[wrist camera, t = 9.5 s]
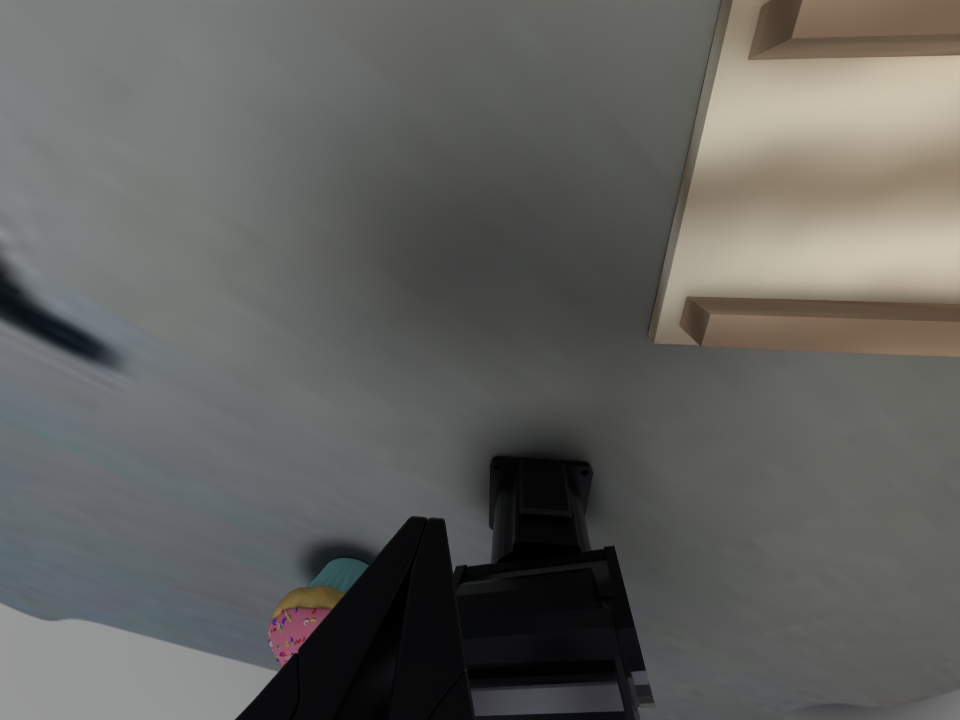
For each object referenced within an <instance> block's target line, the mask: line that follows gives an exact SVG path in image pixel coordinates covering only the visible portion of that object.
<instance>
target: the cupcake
mask: <svg viewBox="0 0 960 720" xmlns="http://www.w3.org/2000/svg"><path fill="white" fill-rule="evenodd" d="M368 566H369V565H368V564H366V563H364V562H362V561H359V560H356V559H352V558H338V559H335V560H332V561H331V562H329V563H328V564H327V565H326V566H325V568H324V569H323V570H322V571H321V572H320V573H319V574H318V576H317V577H316V578H315V579H314V580H313V581H312V582H311V583H310V584H309V585H308V586H307V587H306V588H297V589H295V590H293V591H291V592H290V593H288V594H287V595H286V596H285V597H284V598H283V599H282V600H281V602H280V603H279V605H278V606H277V608H276V610H275V612H274V614H273V617H272V620H271V622H270V624H269V628H268V637H269V641H268V643H269V645H270V646H272V648H271V650H272V651H274V654H275V656H276V658H277V661H278V662H280V663H281V664H282V665H283V666H284V665H285V664H286V663H287V661H288V660H289V659H290V658H291V657H292V655H293V654H294V653H298V649H299V647H300V646H301V645H302V644H303V643H304V642H305V640H306V639H307V638H308V637H309V636H310V634H311V633H312V632H313V631H314V630H315V629H316V627H317V626H318V625H319V624H320V623H321V621H322V620H323V619H324V618H325V617H326V616H327V614H328V613H329V612H330V611H331V610H332V608H333V607H334V606H335V605H336V604H337V603H338V601H339V600H340V599H341V598H342V597H343V596H344V594H345V593H346V592H347V591H348V590H349V588H350V587H351V586H352V585H353V584H354V583H355V581H356V580H357V579H358V578H359V577H360V575H361V574H362V573H363V572H364V571H365V570H366V568H367V567H368Z"/></svg>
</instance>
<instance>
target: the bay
mask: <svg viewBox="0 0 960 720" xmlns="http://www.w3.org/2000/svg"><path fill="white" fill-rule="evenodd" d="M648 337H649V338H650V339H651V340H652V342H653V343H654V344H679V345H700V346H701V347H718V348H744V349H770V350H796V351H822V352H848V353H874V354H900V355H926V356H952V357H960V0H722V2H721V6H720V11H719V15H718V20H717V24H716V29H715V33H714V38H713V43H712V47H711V52H710V56H709V61H708V65H707V70H706V74H705V79H704V83H703V88H702V93H701V97H700V102H699V106H698V111H697V115H696V120H695V124H694V129H693V133H692V138H691V143H690V147H689V152H688V156H687V161H686V165H685V170H684V174H683V179H682V183H681V188H680V193H679V197H678V202H677V206H676V211H675V215H674V220H673V224H672V229H671V233H670V238H669V243H668V247H667V252H666V256H665V261H664V265H663V270H662V274H661V279H660V283H659V288H658V293H657V297H656V302H655V306H654V311H653V315H652V320H651V324H650V329H649V333H648Z"/></svg>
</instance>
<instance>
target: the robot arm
mask: <svg viewBox="0 0 960 720" xmlns="http://www.w3.org/2000/svg"><path fill="white" fill-rule="evenodd" d="M496 464H500V466H498V465H496ZM582 470H586V471H582ZM592 474H593V471H592V467H591V465H590V464H589V463H586V462H572V461H557V460H541V459H526V458H510V457H494V458H493V459H492V460H491V465H490V511H489V526H490V528H491V529H492V530H493V541H492V555H491V564H483V565H475V566H467V565H461V566H456V569H455V571H454V574H453V571H452V564H451V558H450V551H449V545H448V538H447V531H446V525H445V520H444V519H442V518H428V519H427V518H426V517H418V516H412V517H410V518H409V519H408V520H407V521H406V522H405V524H404V525H403V526H402V527H401V528H400V529H399V531H398V532H397V533H396V534H395V535H394V537H393V538H392V539H391V540H390V541H389V542H388V544H387V545H386V546H385V547H384V548H383V549H382V551H381V552H380V553H379V554H378V555H377V557H376V558H375V559H374V560H373V561H372V562H371V564H370V565H369V566H368V567H367V568H366V570H365V571H364V572H363V573H362V574H361V575H360V577H359V578H358V579H357V580H356V581H355V583H354V584H353V585H352V586H351V587H350V588H349V590H348V591H347V592H346V593H345V594H344V596H343V597H342V598H341V599H340V600H339V601H338V603H337V604H336V605H335V606H334V607H333V608H332V610H331V611H330V612H329V613H328V614H327V616H326V617H325V618H324V619H323V620H322V621H321V623H320V624H319V625H318V626H317V627H316V629H315V630H314V631H313V632H312V633H311V634H310V636H309V637H308V638H307V639H306V640H305V642H304V643H303V644H302V645H301V646H300V647H299V649H298V653H294V654H293V655H292V657H291V658H290V659H289V660H288V661H287V663H286V664H285V665H284V666H283V667H282V668H281V670H280V671H279V672H278V673H277V674H276V675H275V677H274V678H273V679H272V680H271V681H270V682H269V683H268V684H267V686H266V687H265V688H264V689H263V690H262V691H261V692H260V694H259V695H258V696H257V697H256V698H255V699H254V700H253V701H252V702H251V704H250V705H249V706H248V707H247V708H246V709H245V710H244V711H243V712H242V713H241V714H240V715H239V716H238V717H237V718H236V719H235V720H640V716H639V712H638V707H641V708H652V707H655V704H654V700H653V696H652V692H651V688H650V684H649V680H648V676H647V672H646V669H645V665H644V661H643V657H642V653H641V649H640V645H639V641H638V637H637V633H636V629H635V625H634V621H633V618H632V614H631V610H630V606H629V602H628V598H627V594H626V590H625V586H624V582H623V578H622V574H621V571H620V567H619V563H618V559H617V555H616V551H615V547H614V546H608V547H604V549H600V550H592V551H591V547H590V542H589V537H588V532H587V526H586V521H585V513H586V508H587V502H588V496H589V491H590V485H591V480H592Z"/></svg>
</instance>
